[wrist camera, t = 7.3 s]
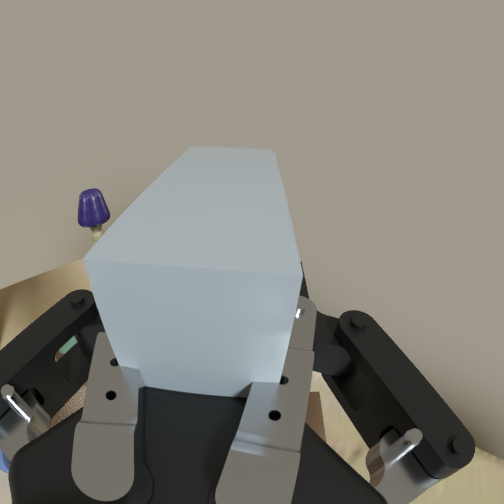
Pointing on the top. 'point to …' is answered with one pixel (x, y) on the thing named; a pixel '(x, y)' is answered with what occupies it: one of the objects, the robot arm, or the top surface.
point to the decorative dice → (4, 462)
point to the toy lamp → (93, 212)
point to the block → (202, 274)
